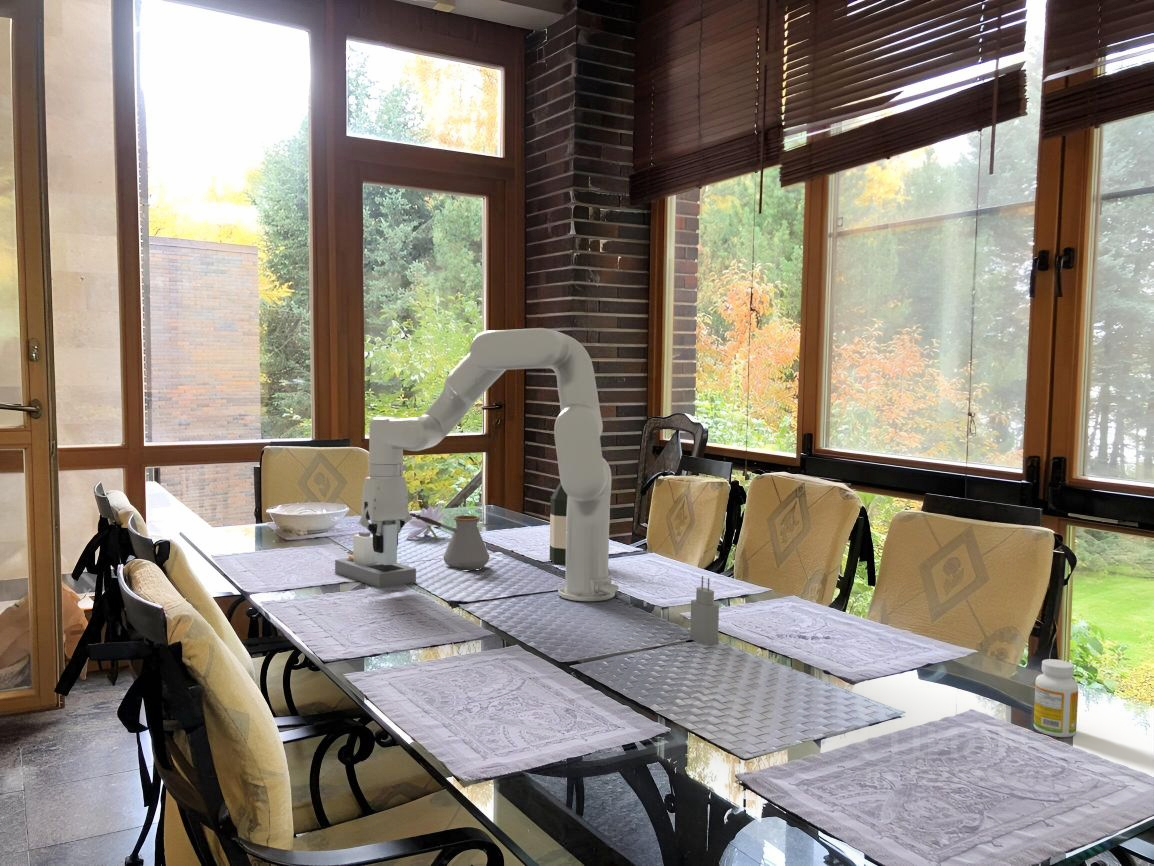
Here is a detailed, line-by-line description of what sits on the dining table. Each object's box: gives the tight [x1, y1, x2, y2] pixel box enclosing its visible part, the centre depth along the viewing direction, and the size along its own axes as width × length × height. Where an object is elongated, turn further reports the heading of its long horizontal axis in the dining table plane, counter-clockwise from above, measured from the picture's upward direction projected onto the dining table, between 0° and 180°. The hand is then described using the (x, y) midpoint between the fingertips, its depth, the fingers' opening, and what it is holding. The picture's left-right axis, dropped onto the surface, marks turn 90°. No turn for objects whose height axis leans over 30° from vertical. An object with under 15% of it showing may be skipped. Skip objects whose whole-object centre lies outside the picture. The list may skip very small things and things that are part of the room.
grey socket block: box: [334, 554, 417, 589], centre depth 214 cm, size 20×10×5 cm, turn 43°
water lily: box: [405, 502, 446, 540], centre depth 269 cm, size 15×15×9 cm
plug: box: [374, 521, 398, 565], centre depth 210 cm, size 5×3×10 cm, turn 43°
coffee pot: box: [409, 512, 490, 571], centre depth 227 cm, size 21×12×15 cm, turn 123°
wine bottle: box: [549, 481, 568, 566], centre depth 239 cm, size 8×8×30 cm
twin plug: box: [352, 530, 375, 565], centre depth 217 cm, size 5×3×10 cm, turn 43°
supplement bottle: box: [1033, 658, 1079, 738], centre depth 130 cm, size 5×5×10 cm
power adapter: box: [689, 575, 720, 646], centre depth 171 cm, size 3×5×12 cm, turn 30°
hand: (385, 550), depth 210 cm, fingers closed on plug, 3 cm apart
